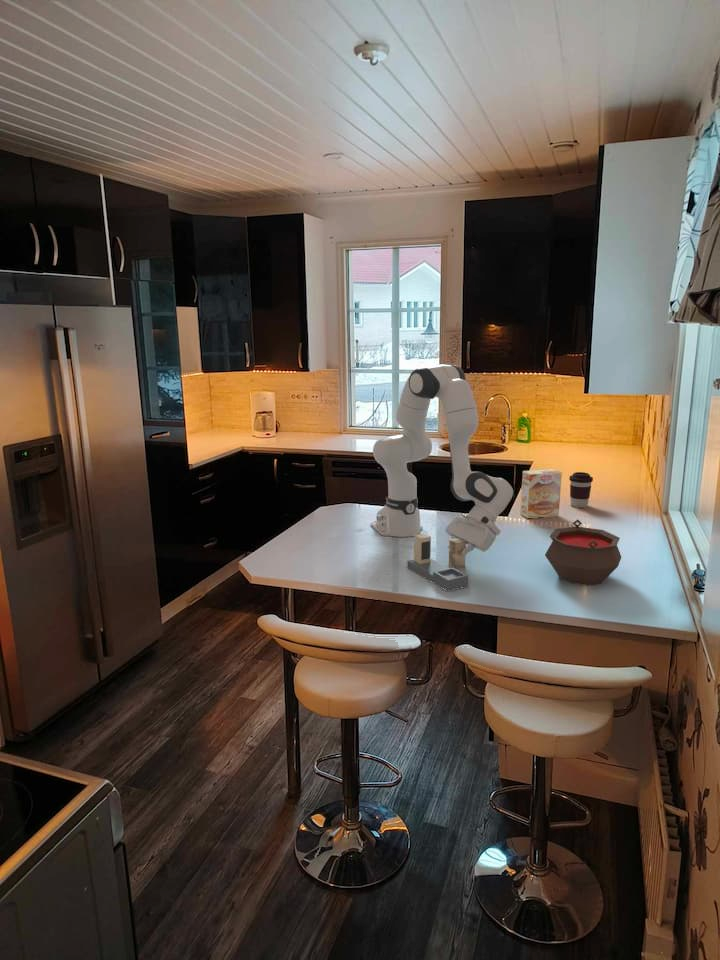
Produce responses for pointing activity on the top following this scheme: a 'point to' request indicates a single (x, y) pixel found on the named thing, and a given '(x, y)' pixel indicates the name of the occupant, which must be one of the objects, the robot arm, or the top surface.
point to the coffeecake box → (540, 493)
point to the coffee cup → (580, 489)
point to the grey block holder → (434, 566)
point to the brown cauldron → (583, 554)
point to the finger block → (456, 552)
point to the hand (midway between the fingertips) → (455, 551)
